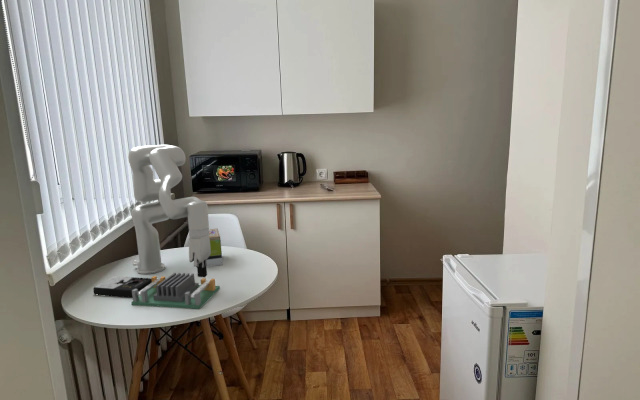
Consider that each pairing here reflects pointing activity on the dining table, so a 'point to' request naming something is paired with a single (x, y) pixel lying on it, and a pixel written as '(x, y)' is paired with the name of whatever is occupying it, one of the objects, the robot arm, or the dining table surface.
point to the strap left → (149, 286)
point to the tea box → (214, 249)
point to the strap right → (200, 289)
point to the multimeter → (121, 286)
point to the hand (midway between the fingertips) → (202, 276)
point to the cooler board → (175, 292)
